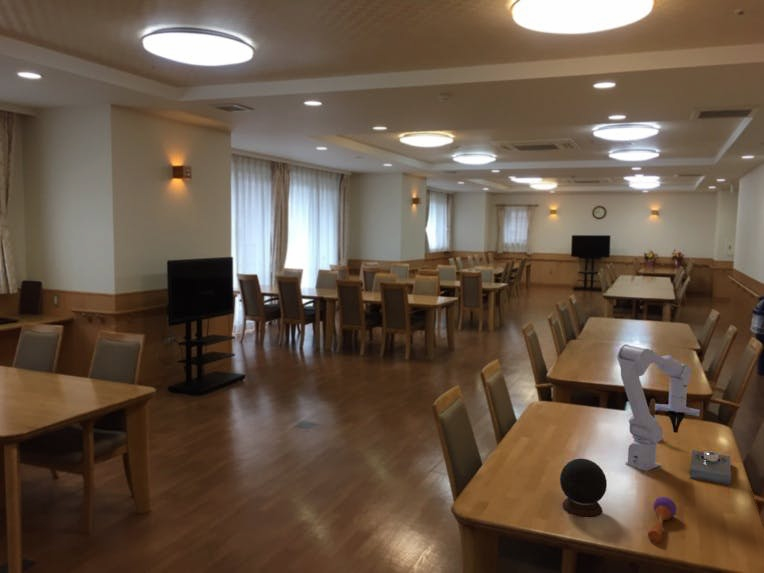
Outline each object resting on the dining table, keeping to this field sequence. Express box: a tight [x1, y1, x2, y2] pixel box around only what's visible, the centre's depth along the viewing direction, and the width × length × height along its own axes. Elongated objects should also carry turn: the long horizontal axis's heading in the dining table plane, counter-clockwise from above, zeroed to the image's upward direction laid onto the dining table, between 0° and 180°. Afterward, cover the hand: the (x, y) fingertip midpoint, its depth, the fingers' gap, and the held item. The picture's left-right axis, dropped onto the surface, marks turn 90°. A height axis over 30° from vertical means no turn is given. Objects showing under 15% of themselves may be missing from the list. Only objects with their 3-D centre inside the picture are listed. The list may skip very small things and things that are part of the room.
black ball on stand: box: [559, 458, 608, 519], centre depth 177 cm, size 13×13×15 cm
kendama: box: [647, 496, 677, 544], centre depth 167 cm, size 6×6×20 cm
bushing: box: [703, 450, 719, 462], centre depth 210 cm, size 4×4×5 cm
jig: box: [689, 449, 732, 486], centre depth 206 cm, size 20×12×3 cm, turn 151°
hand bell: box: [648, 398, 664, 442], centre depth 238 cm, size 8×8×16 cm
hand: (675, 431), depth 219 cm, fingers closed
